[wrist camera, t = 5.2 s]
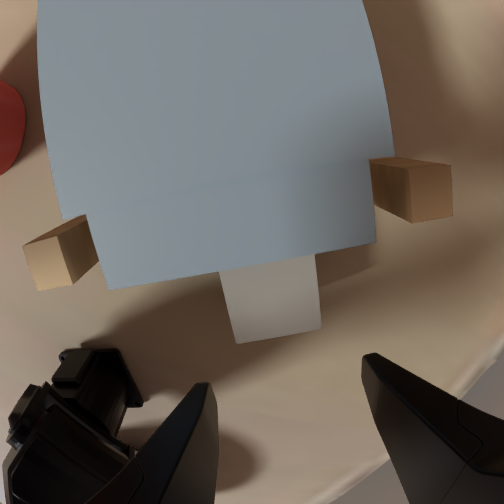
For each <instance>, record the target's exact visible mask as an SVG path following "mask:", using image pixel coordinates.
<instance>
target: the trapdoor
mask: <svg viewBox="0 0 504 504" xmlns="http://www.w3.org/2000/svg"><path fill="white" fill-rule="evenodd" d="M37 59H38V77H39V90H40V101H41V110H42V118H43V125H44V132H45V139H46V145H47V151H48V156H49V161H50V167H51V172H52V176H53V181H54V186H55V190H56V194H57V198H58V203H59V207H60V211H61V214H62V218H63V220H66V219H70V218H73V217H77V216H80V215H84V214H86V217H87V221H88V224H89V228H90V232H91V235H92V239H93V242H94V245H95V249H96V252H97V255H98V258H99V262H100V265H101V268H102V271H103V274H104V277H105V280H106V283H107V286H108V288H109V290H113V289H119V288H125V287H131V286H137V285H143V284H149V283H155V282H161V281H167V280H173V279H178V278H184V277H190V276H196V275H202V274H207V273H213V272H219V271H224V270H230V269H236V268H241V267H247V266H252V265H258V264H263V263H269V262H275V261H280V260H285V259H291V258H296V257H302V256H307V255H313V254H318V253H323V252H329V251H334V250H339V249H345V248H350V247H355V246H360V245H366V244H371V243H376V230H375V216H374V204H373V193H372V183H371V174H370V166H369V159H374V158H383V157H393V156H395V151H394V143H393V136H392V129H391V122H390V116H389V110H388V104H387V99H386V93H385V88H384V83H383V78H382V74H381V69H380V65H379V60H378V56H377V52H376V48H375V44H374V40H373V36H372V32H371V29H370V25H369V22H368V18H367V15H366V12H365V8H364V5H363V2H362V0H38V10H37Z"/></svg>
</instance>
